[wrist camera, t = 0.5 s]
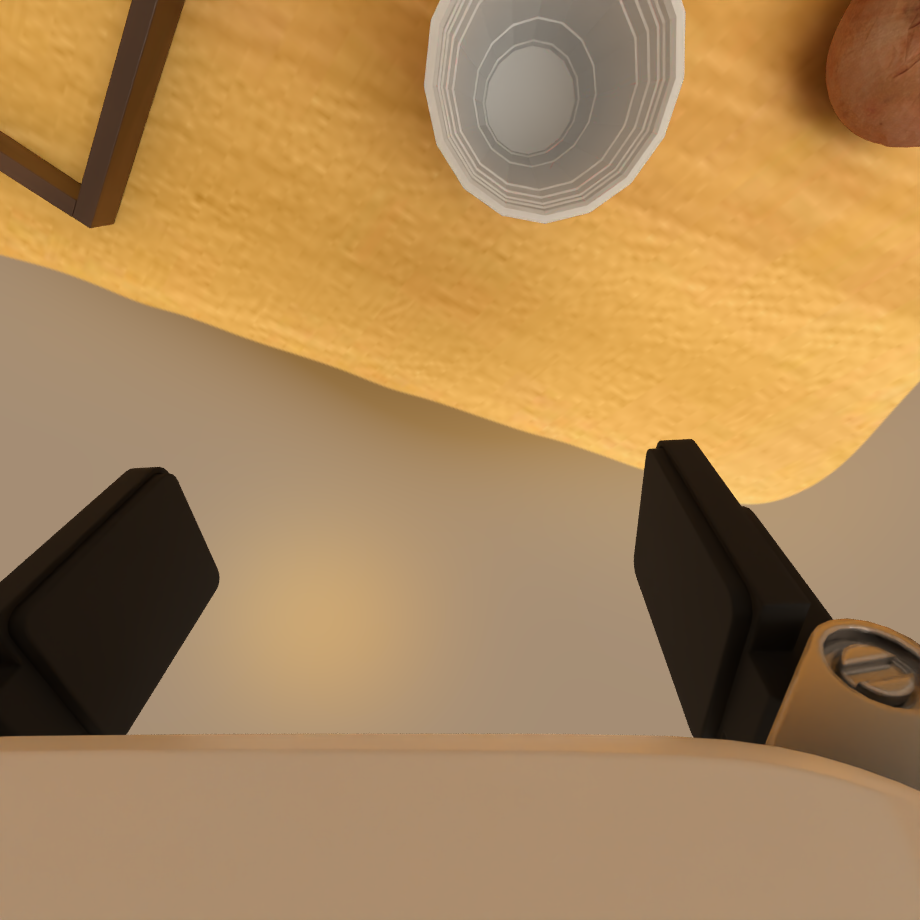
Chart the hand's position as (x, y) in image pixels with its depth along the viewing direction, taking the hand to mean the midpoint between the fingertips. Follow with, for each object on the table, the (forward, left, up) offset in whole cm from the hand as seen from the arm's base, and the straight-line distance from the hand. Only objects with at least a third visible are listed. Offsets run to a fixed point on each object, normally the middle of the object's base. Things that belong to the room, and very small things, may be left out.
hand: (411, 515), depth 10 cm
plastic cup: (-9, +5, -30) cm, 32 cm away
